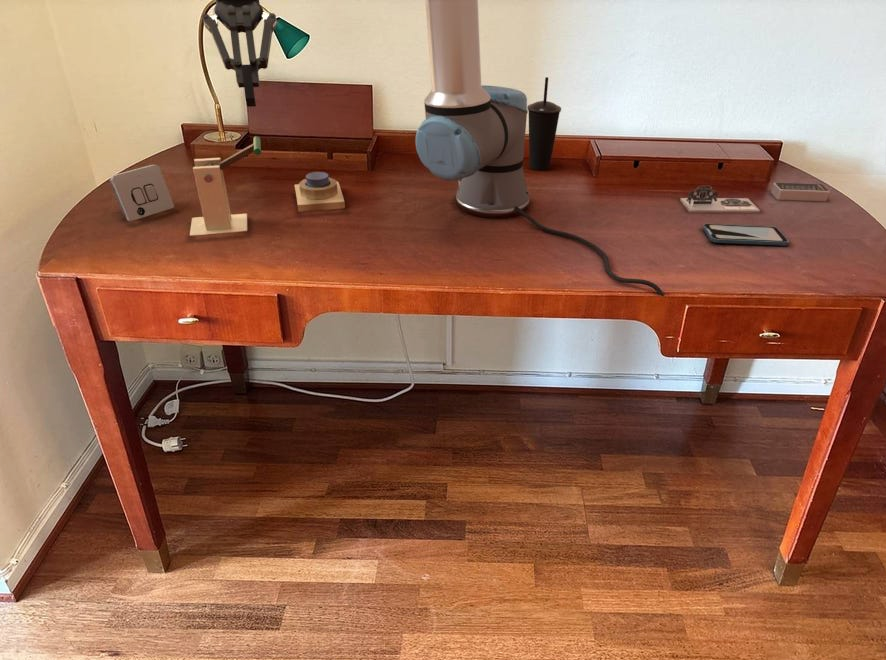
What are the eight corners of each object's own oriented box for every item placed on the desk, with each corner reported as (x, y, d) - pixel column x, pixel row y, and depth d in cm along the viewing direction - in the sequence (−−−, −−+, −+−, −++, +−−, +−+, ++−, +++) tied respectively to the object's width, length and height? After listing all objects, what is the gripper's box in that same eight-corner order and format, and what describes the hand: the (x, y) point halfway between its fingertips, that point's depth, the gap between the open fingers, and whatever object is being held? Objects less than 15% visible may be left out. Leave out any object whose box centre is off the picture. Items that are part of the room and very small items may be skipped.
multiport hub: (770, 192, 153) (773, 182, 152) (819, 193, 153) (822, 183, 152) (777, 199, 149) (780, 189, 148) (827, 201, 149) (830, 191, 148)
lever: (263, 143, 125) (255, 132, 123) (264, 156, 119) (256, 144, 118) (207, 175, 125) (198, 164, 124) (205, 189, 120) (196, 178, 118)
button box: (339, 192, 145) (337, 172, 142) (345, 213, 136) (343, 191, 134) (296, 195, 143) (293, 175, 140) (299, 216, 134) (296, 195, 132)
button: (328, 180, 139) (327, 171, 138) (330, 188, 136) (329, 178, 135) (306, 181, 138) (305, 172, 137) (307, 189, 135) (306, 180, 134)
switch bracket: (248, 219, 133) (236, 153, 125) (248, 236, 126) (236, 168, 119) (193, 223, 130) (178, 157, 123) (190, 241, 124) (174, 172, 116)
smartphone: (790, 242, 129) (712, 239, 129) (789, 247, 130) (711, 244, 129) (776, 226, 135) (701, 223, 135) (774, 230, 136) (700, 227, 135)
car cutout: (689, 212, 142) (694, 191, 140) (680, 200, 148) (684, 179, 145) (759, 212, 143) (765, 192, 141) (747, 200, 149) (752, 180, 146)
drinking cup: (539, 159, 166) (547, 72, 155) (562, 168, 161) (571, 79, 150) (516, 165, 162) (522, 76, 151) (538, 174, 157) (546, 83, 146)
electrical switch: (131, 227, 128) (115, 178, 123) (118, 222, 131) (101, 173, 126) (177, 212, 134) (163, 165, 129) (163, 208, 137) (149, 161, 132)
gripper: (274, -3, 130) (289, 112, 126) (201, -3, 127) (215, 115, 123) (270, -32, 123) (287, 89, 119) (193, -32, 120) (208, 92, 116)
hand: (250, 102), depth 121 cm, fingers closed
